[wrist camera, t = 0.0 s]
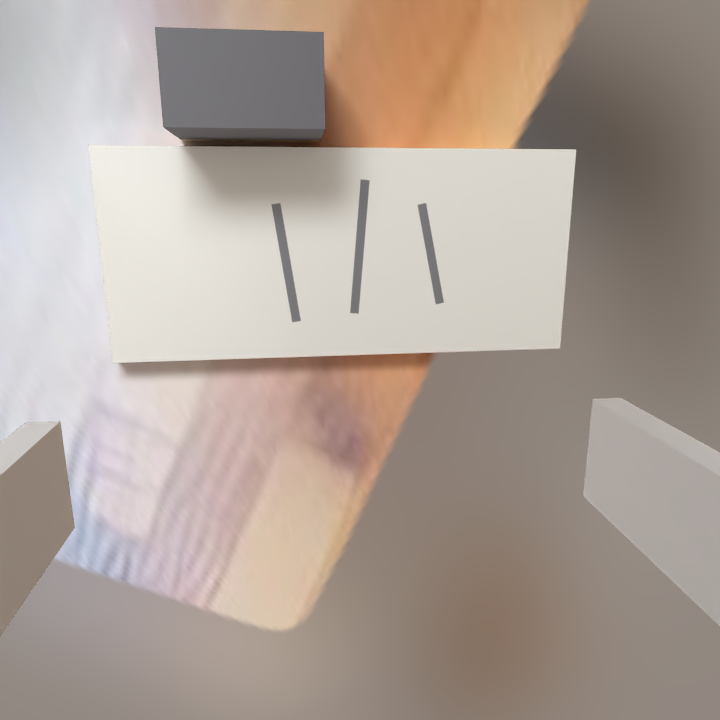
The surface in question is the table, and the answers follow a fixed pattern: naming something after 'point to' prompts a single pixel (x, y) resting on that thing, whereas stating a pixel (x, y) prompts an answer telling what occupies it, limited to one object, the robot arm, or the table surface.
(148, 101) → the table surface
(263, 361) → the table surface
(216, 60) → the block
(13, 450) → the robot arm
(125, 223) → the board
